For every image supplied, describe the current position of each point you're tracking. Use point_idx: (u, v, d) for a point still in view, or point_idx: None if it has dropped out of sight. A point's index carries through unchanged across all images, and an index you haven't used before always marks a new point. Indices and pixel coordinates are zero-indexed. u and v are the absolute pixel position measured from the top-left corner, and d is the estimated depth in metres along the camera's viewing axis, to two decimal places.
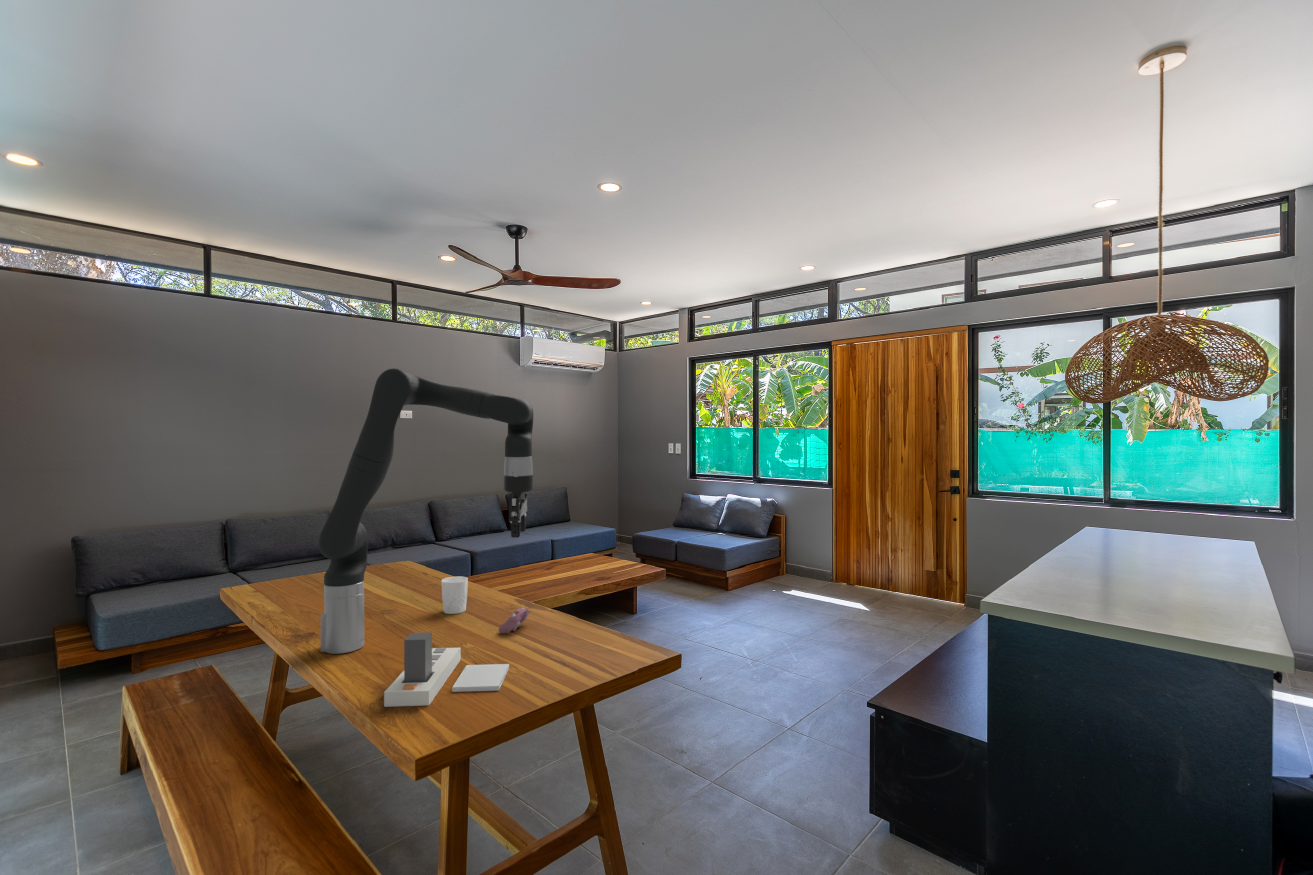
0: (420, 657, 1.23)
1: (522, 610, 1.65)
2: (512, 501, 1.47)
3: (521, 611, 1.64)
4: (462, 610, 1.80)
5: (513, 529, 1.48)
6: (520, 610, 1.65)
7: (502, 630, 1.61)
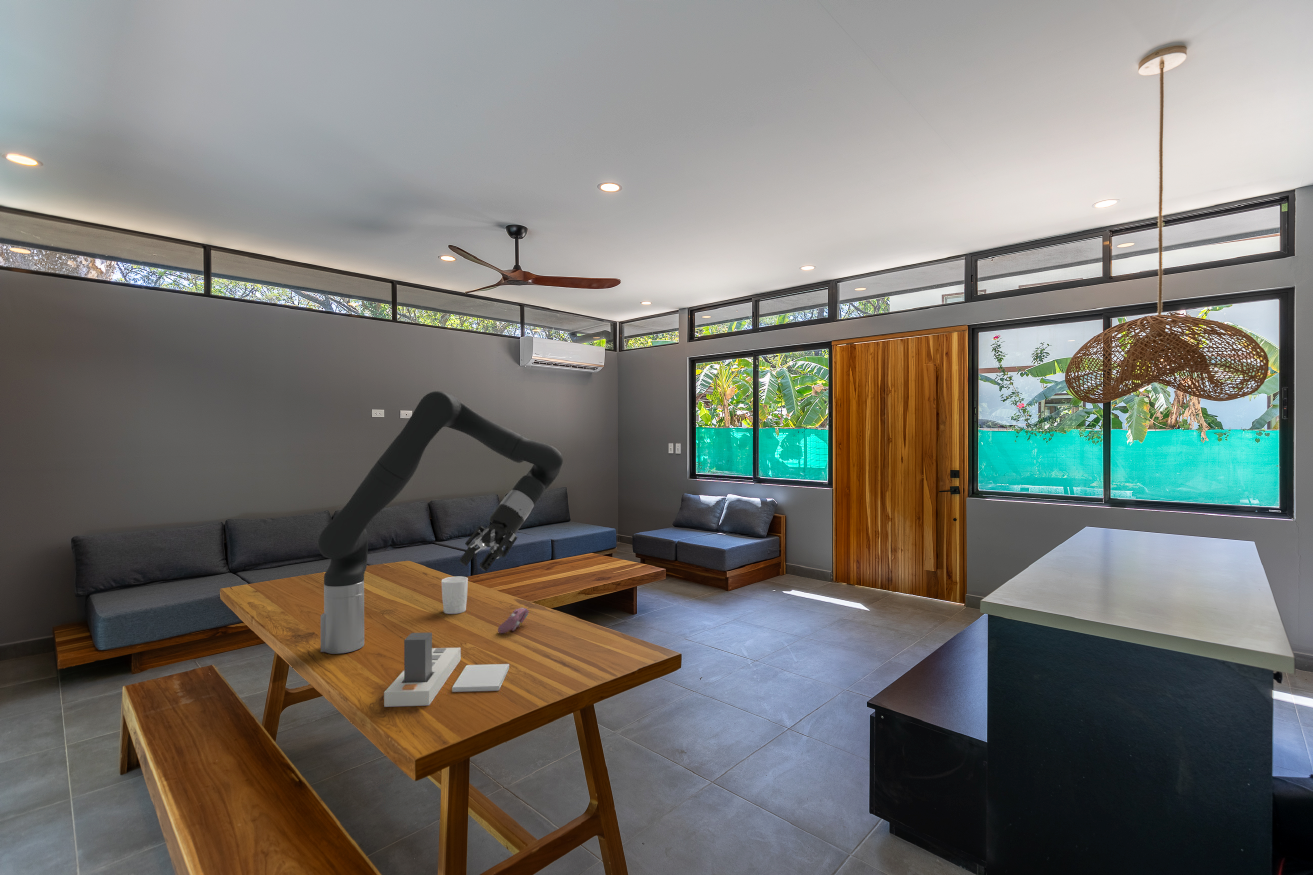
0: (420, 657, 1.23)
1: (521, 610, 1.65)
2: (512, 535, 1.36)
3: (520, 611, 1.64)
4: (462, 610, 1.80)
5: (489, 560, 1.34)
6: (519, 610, 1.65)
7: (501, 630, 1.61)
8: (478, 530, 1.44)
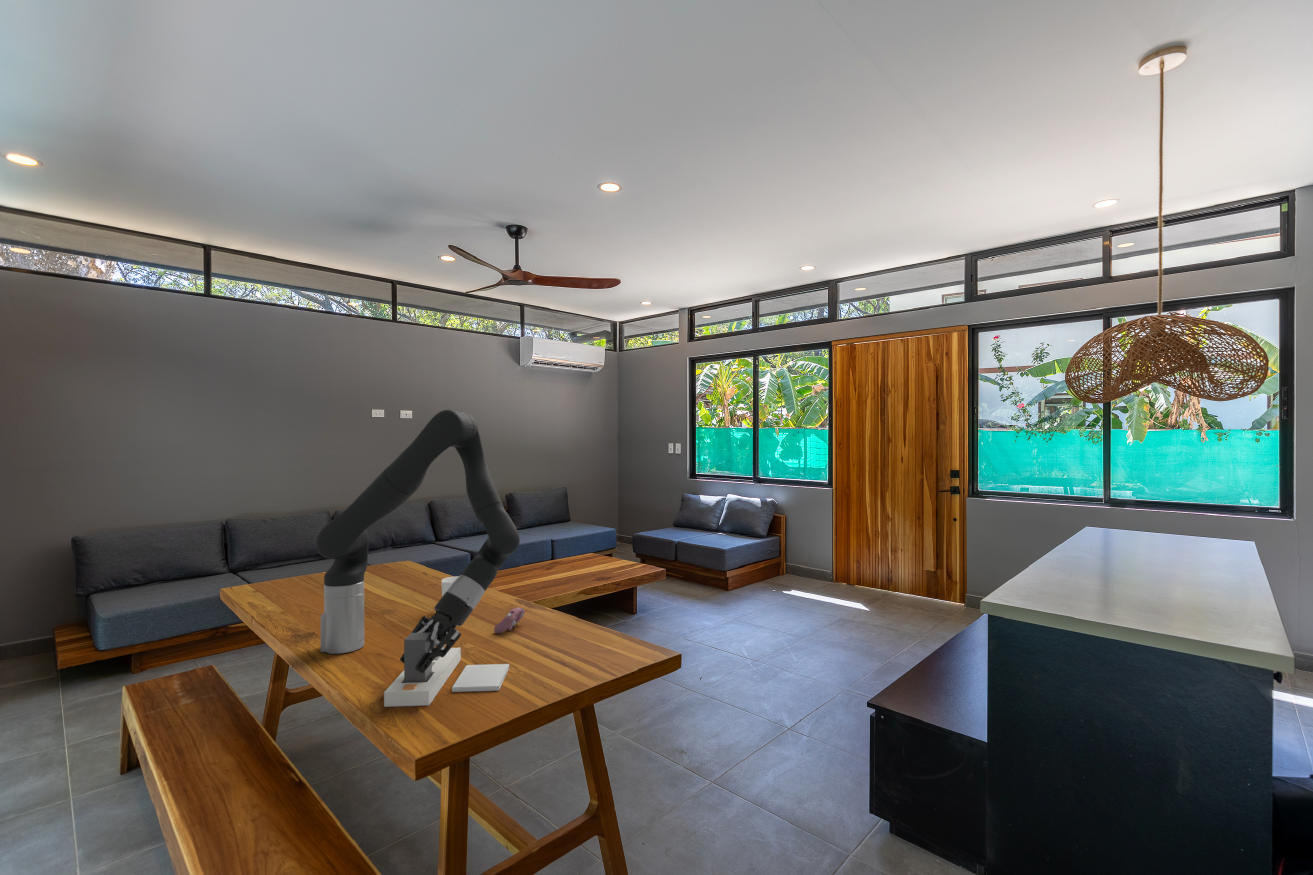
0: (420, 657, 1.23)
1: (517, 610, 1.65)
2: (454, 633, 1.25)
3: (516, 611, 1.64)
4: None
5: (426, 661, 1.22)
6: (515, 610, 1.65)
7: (497, 630, 1.61)
8: (422, 621, 1.32)
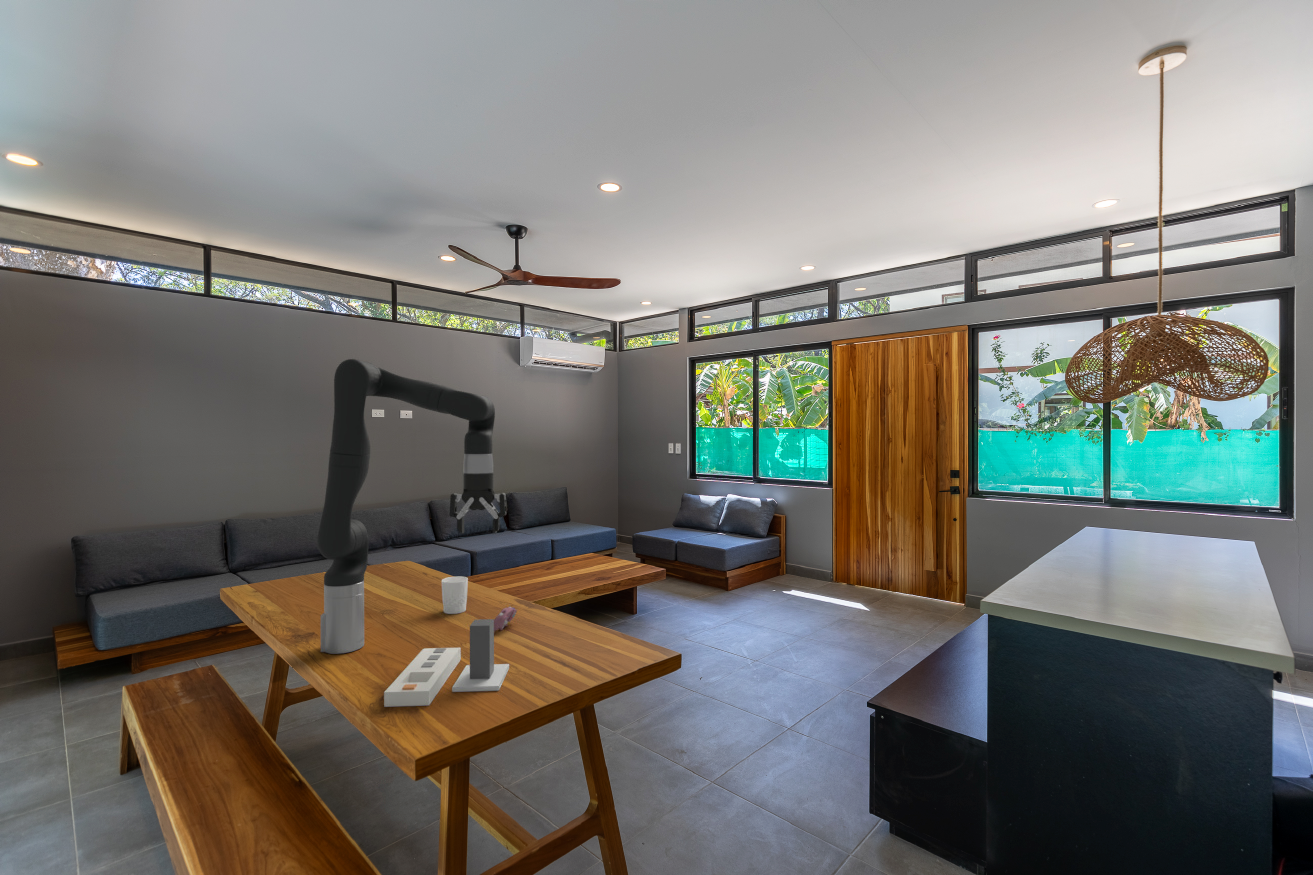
0: (484, 642, 1.29)
1: (509, 609, 1.66)
2: (504, 496, 1.51)
3: (508, 610, 1.65)
4: (462, 610, 1.80)
5: (498, 524, 1.51)
6: (507, 609, 1.65)
7: None
8: (454, 499, 1.49)
